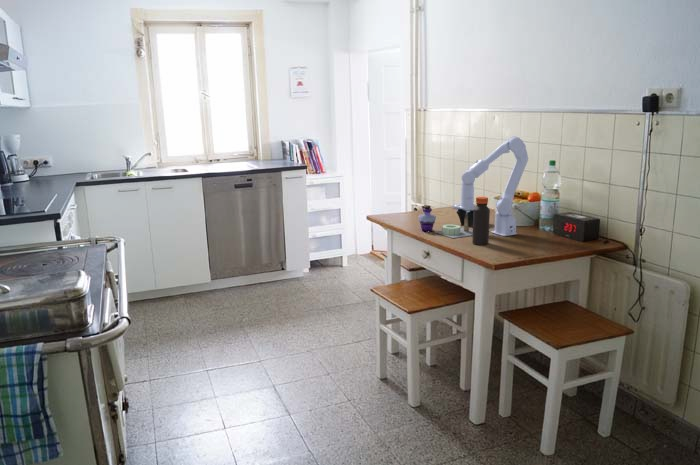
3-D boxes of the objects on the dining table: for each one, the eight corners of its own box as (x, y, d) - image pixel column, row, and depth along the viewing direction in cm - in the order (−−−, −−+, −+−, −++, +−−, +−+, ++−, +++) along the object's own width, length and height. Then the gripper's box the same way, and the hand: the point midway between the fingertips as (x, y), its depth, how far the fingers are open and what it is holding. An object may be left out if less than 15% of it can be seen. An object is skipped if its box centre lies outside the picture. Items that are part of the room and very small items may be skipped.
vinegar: (469, 242, 249) (470, 197, 245) (482, 240, 252) (484, 195, 247) (477, 246, 243) (479, 199, 238) (491, 244, 245) (493, 198, 241)
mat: (481, 234, 263) (481, 233, 263) (452, 238, 256) (452, 237, 256) (462, 228, 276) (462, 227, 275) (434, 232, 269) (434, 231, 269)
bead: (463, 233, 264) (463, 227, 263) (449, 235, 260) (449, 229, 259) (452, 230, 271) (453, 223, 270) (438, 232, 267) (438, 225, 267)
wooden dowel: (469, 231, 268) (470, 217, 266) (465, 232, 267) (466, 217, 265) (466, 230, 269) (467, 216, 268) (462, 231, 269) (463, 216, 267)
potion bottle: (430, 227, 278) (431, 203, 275) (439, 231, 270) (439, 206, 267) (414, 229, 275) (414, 204, 272) (422, 233, 267) (423, 207, 264)
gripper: (485, 197, 263) (484, 226, 266) (458, 194, 272) (457, 222, 275) (478, 199, 257) (477, 229, 261) (450, 196, 267) (449, 225, 270)
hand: (466, 226), depth 267 cm, fingers open, 3 cm apart
